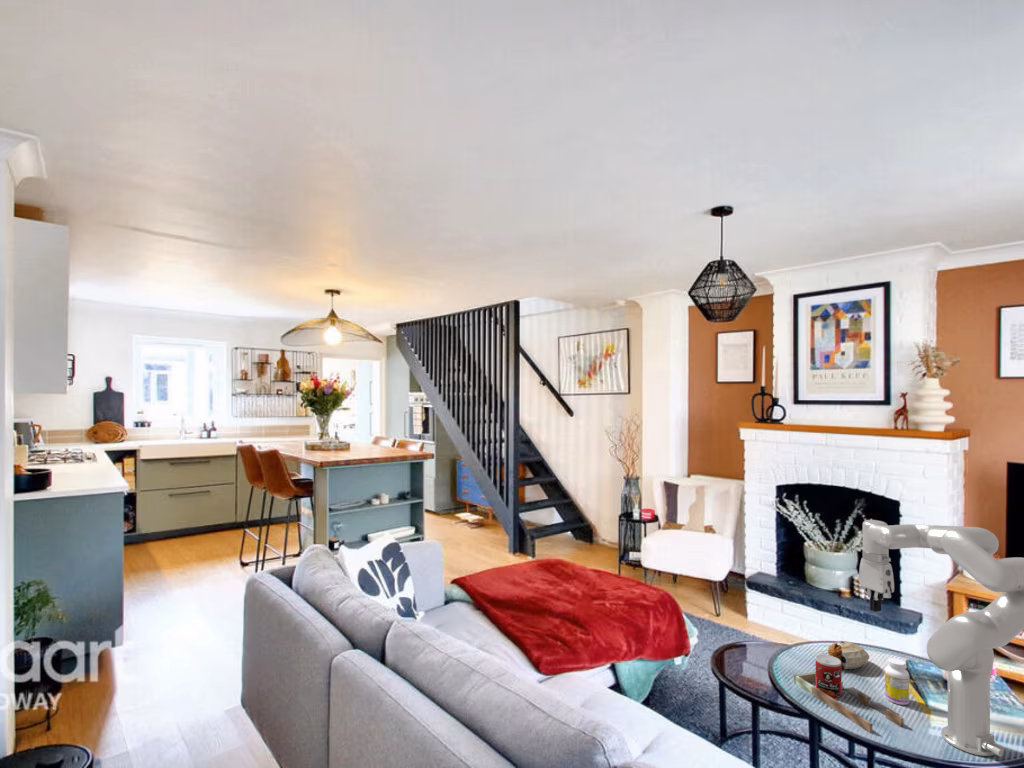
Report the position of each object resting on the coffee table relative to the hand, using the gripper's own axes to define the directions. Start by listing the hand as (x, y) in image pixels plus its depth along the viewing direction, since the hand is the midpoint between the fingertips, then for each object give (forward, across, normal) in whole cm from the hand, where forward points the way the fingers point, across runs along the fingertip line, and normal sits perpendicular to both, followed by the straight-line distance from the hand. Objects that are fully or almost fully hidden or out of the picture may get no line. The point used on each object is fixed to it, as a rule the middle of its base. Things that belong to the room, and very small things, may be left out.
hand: (875, 610), depth 190 cm
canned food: (+27, +3, +17) cm, 32 cm away
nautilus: (+27, +18, -3) cm, 33 cm away
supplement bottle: (+27, -7, -1) cm, 28 cm away
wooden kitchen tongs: (+27, -4, +15) cm, 31 cm away
